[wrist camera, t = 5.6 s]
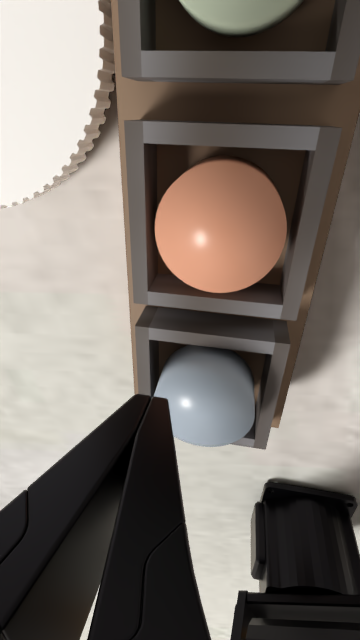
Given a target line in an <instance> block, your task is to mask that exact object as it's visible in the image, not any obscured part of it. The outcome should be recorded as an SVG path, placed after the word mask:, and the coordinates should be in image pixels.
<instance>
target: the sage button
mask: <svg viewBox="0 0 360 640" xmlns="http://www.w3.org/2000/svg"><path fill="white" fill-rule="evenodd" d="M179 1H180V3H181V4H182V6H183V7H184V9H185V10H186V11H187V12H188V13H189V15H190V16H191V17H192V18H193V19H194V20H195V21H196V22H198V23H199V24H200V25H201V26H203V27H204V28H206V29H208V30H209V31H212V32H214V33H216V34H219V35H223V36H227V37H248V36H252V35H256V34H260V33H262V32H264V31H267V30H269V29H271V28H273V27H274V26H276V25H278V24H279V23H281V22H282V21H283V20H284V19H286V18H287V17H288V16H290V15H291V14H292V13H293V12H294V11H295V10H296V9H297V8H298V7H299V6H300V5H301V3H302V2H303V1H304V0H179Z"/></svg>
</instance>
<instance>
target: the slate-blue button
mask: <svg viewBox="0 0 360 640" xmlns="http://www.w3.org/2000/svg"><path fill="white" fill-rule="evenodd" d="M154 396H156V397H162V398H167V399H168V402H169V409H170V416H171V423H172V430H173V436H174V437H176V438H178V439H180V440H182V441H184V442H187V443H190V444H193V445H198V446H205V447H216V446H224V445H228V444H231V443H233V442H236V441H238V440H239V439H241V438H242V437H244V436H245V435H246V434H247V433H248V432H249V430H250V429H251V427H252V425H253V422H254V417H255V400H254V377H253V373H252V371H251V368H250V367H249V365H248V364H247V363H246V361H245V360H244V359H243V358H242V357H241V356H239V355H238V354H237V353H235V352H234V351H232V350H230V349H223V348H215V347H207V346H198V345H188V346H185V347H183V348H180V349H179V350H177V351H175V352H174V353H173V354H172V355H171V356H170V357H169V358H168V359H167V361H166V362H165V365H164V367H163V370H162V373H161V376H160V379H159V382H158V385H157V388H156V390H155V393H154Z"/></svg>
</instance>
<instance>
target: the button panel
mask: <svg viewBox="0 0 360 640" xmlns="http://www.w3.org/2000/svg"><path fill="white" fill-rule="evenodd" d="M111 11H112V27H113V44H114V60H115V77H116V93H117V110H118V126H119V143H120V159H121V176H122V192H123V209H124V225H125V242H126V258H127V275H128V291H129V308H130V324H131V341H132V358H133V374H134V391H135V394H143V395H149V396H151V397H154V393H155V390H156V388H157V385H158V382H159V379H160V376H161V373H162V370H163V367H164V365H165V362H166V361H167V359H168V358H169V357H170V356H171V355H172V354H173V353H174V352H175V351H177V350H179V349H180V348H183V347H185V346H188V345H198V346H207V347H215V348H223V349H230V350H232V351H234V352H235V353H237V354H238V355H239V356H241V357H242V358H243V359H244V360H245V361H246V363H247V364H248V365H249V367H250V368H251V371H252V373H253V377H254V400H255V417H254V422H253V425H252V427H251V429H250V430H249V432H248V433H247V434H246V435H245V436H244V437H242V438H241V439H239V440H238V441H236V442H233V443H231V444H234V445H240V446H246V447H252V448H259V449H266V445H267V441H268V437H269V433H270V429H271V427H275V428H279V424H280V420H281V416H282V412H283V408H284V404H285V400H286V396H287V392H288V388H289V385H290V381H291V377H292V373H293V369H294V365H295V361H296V357H297V353H298V349H299V346H300V342H301V338H302V334H303V330H304V326H305V322H306V318H307V314H308V310H309V307H310V303H311V299H312V295H313V291H314V287H315V283H316V279H317V275H318V271H319V268H320V264H321V260H322V256H323V252H324V248H325V244H326V240H327V236H328V232H329V229H330V225H331V221H332V217H333V213H334V209H335V205H336V201H337V197H338V193H339V190H340V186H341V182H342V178H343V174H344V170H345V166H346V162H347V158H348V154H349V151H350V147H351V143H352V139H353V135H354V131H355V127H356V123H357V119H358V115H359V112H360V0H304V1H303V2H302V3H301V5H300V6H299V7H298V8H297V9H296V10H295V11H294V12H293V13H292V14H291V15H290V16H288V17H287V18H286V19H284V20H283V21H282V22H281V23H279V24H278V25H276V26H274V27H273V28H271V29H269V30H267V31H264V32H262V33H260V34H256V35H252V36H248V37H227V36H223V35H219V34H216V33H214V32H212V31H209V30H208V29H206V28H204V27H203V26H201V25H200V24H199V23H198V22H196V21H195V20H194V19H193V18H192V17H191V16H190V15H189V13H188V12H187V11H186V10H185V9H184V7H183V6H182V4H181V3H180V1H179V0H111ZM215 156H237V157H240V158H244V159H246V160H249V161H251V162H253V163H254V164H256V165H258V166H259V167H260V168H261V169H263V170H264V171H265V172H266V173H267V174H268V175H269V177H270V178H271V179H272V181H273V182H274V184H275V186H276V188H277V190H278V192H279V195H280V198H281V201H282V204H283V207H284V210H285V214H286V221H287V233H286V240H285V244H284V248H283V250H282V253H281V255H280V257H279V259H278V261H277V262H276V264H275V265H274V266H273V268H272V269H271V270H270V271H269V272H268V273H267V274H266V275H265V276H264V277H263V278H262V279H260V280H259V281H258V282H256V283H254V284H253V285H251V286H249V287H247V288H244V289H241V290H238V291H234V292H227V293H213V292H206V291H203V290H199V289H196V288H194V287H192V286H190V285H188V284H186V283H184V282H183V281H182V280H180V279H179V278H178V277H177V276H176V275H174V274H173V273H172V271H171V270H170V269H169V268H168V267H167V265H166V264H165V262H164V261H163V259H162V257H161V255H160V253H159V250H158V247H157V243H156V238H155V219H156V213H157V210H158V207H159V204H160V202H161V200H162V198H163V196H164V194H165V193H166V191H167V190H168V188H169V187H170V186H171V185H172V184H173V183H174V182H175V181H176V180H177V179H178V178H179V177H180V176H181V175H182V174H183V173H184V172H186V171H187V170H188V169H189V168H190V167H192V166H193V165H195V164H196V163H198V162H200V161H202V160H204V159H207V158H211V157H215Z"/></svg>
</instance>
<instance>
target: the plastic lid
mask: <svg viewBox="0 0 360 640" xmlns="http://www.w3.org/2000/svg"><path fill="white" fill-rule="evenodd" d="M113 73H115V63H114V44H113V27H112V11H111V0H0V209H2V208H5V207H8V208H9V207H12V206H15V205H17V204H21V203H24V202H26V201H29V200H31V199H34V198H36V197H39V196H41V195H42V194H45V193H47V192H49V191H51V189H53V188H55V187H58V186H59V185H60V184H61V183H60V182H61V181H64V180H67V179H68V178H69V177H70V175H69V173H72V172H74V171H76V170H77V169H78V165H77V163H80V162H83V161H84V160H85V159H86V155H85V152H86V151H90V150H92V148H93V146H94V145H93V143H92V140H93V139H94V138H98V137H99V135H100V131H99V129H98V128H99V125H100V124H104V123H105V120H106V117H105V115H104V111H105V108H109V107H110V104H111V101H110V100H109V99H108V96H109V92H113V91H114V85H115V84H114V83H113V82H112V74H113Z"/></svg>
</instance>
